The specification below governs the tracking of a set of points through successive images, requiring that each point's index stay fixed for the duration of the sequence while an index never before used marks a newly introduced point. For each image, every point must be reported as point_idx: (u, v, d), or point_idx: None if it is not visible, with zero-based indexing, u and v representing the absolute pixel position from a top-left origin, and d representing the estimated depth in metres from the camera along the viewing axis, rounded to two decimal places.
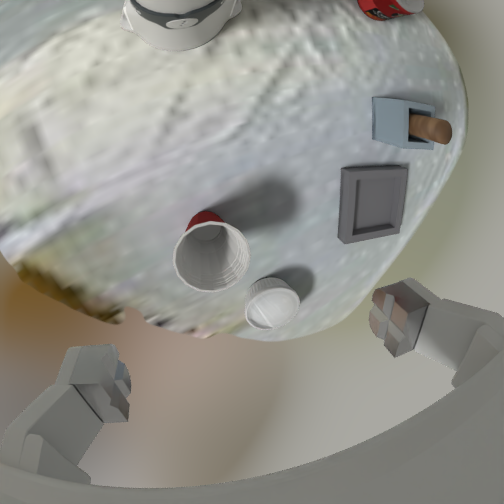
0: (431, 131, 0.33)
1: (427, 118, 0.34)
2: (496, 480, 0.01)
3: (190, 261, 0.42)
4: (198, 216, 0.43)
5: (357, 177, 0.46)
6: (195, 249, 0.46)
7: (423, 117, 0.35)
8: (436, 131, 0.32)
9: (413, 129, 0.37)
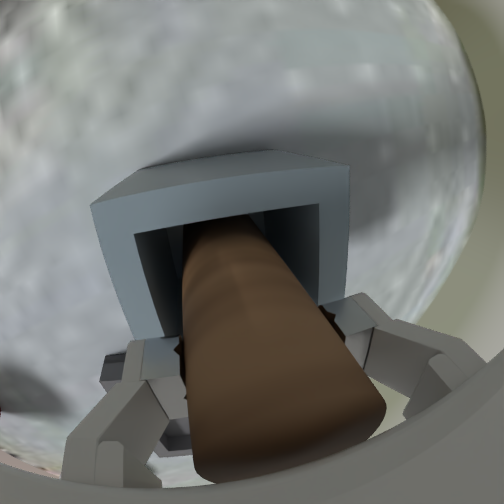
0: None
1: (208, 310, 0.06)
2: (496, 480, 0.01)
3: None
4: None
5: None
6: None
7: (207, 286, 0.07)
8: (198, 466, 0.04)
9: None
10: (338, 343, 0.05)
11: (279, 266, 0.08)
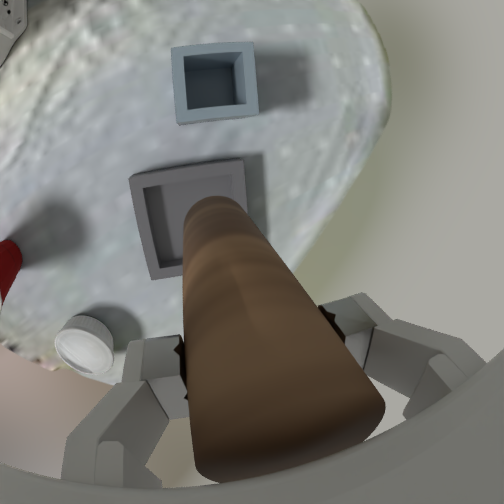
0: None
1: (208, 310, 0.06)
2: (496, 480, 0.01)
3: None
4: None
5: (143, 184, 0.32)
6: None
7: (207, 287, 0.07)
8: None
9: None
10: (337, 342, 0.05)
11: (279, 266, 0.08)
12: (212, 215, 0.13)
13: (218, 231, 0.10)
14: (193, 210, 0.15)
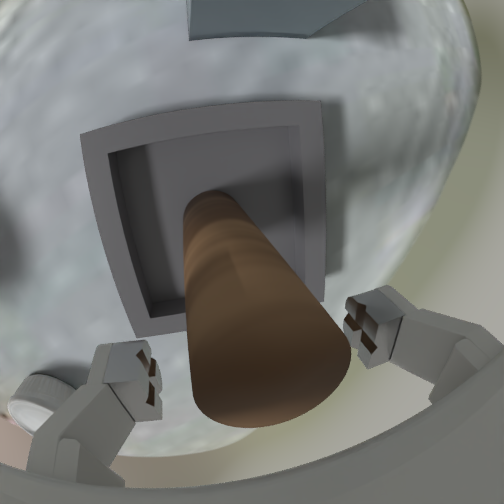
0: None
1: (206, 272, 0.08)
2: (496, 480, 0.01)
3: None
4: None
5: (109, 145, 0.13)
6: None
7: (205, 256, 0.09)
8: (195, 397, 0.06)
9: None
10: (308, 292, 0.07)
11: (264, 242, 0.10)
12: (209, 205, 0.14)
13: (214, 217, 0.12)
14: (192, 203, 0.17)
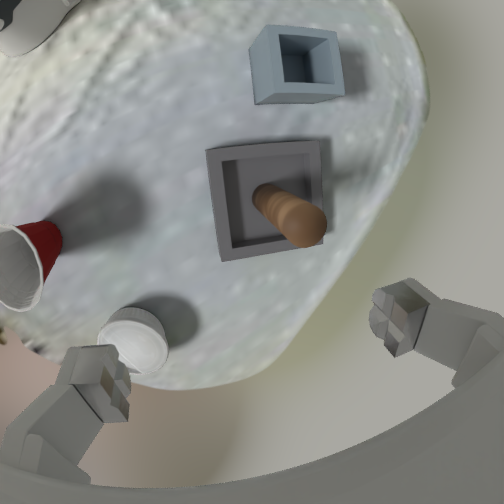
0: (280, 227, 0.26)
1: (282, 202, 0.27)
2: (496, 480, 0.01)
3: (14, 275, 0.26)
4: None
5: (222, 157, 0.32)
6: (31, 264, 0.30)
7: (280, 199, 0.27)
8: (284, 230, 0.24)
9: (269, 220, 0.30)
10: None
11: None
12: (271, 188, 0.33)
13: (277, 191, 0.31)
14: (258, 188, 0.35)
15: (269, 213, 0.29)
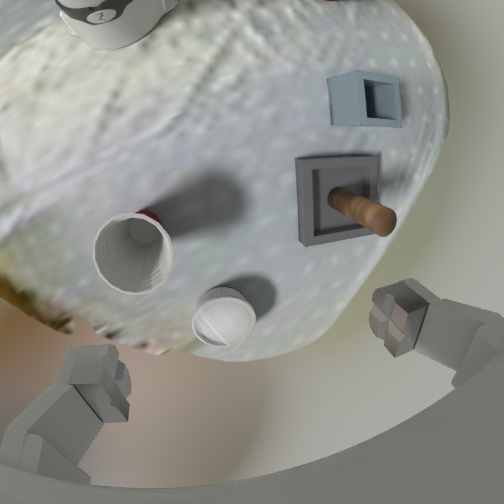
0: (368, 222, 0.35)
1: (367, 205, 0.36)
2: (496, 480, 0.01)
3: (119, 262, 0.36)
4: None
5: (313, 166, 0.41)
6: (130, 251, 0.40)
7: (363, 203, 0.37)
8: (373, 225, 0.34)
9: (352, 216, 0.40)
10: None
11: None
12: (347, 192, 0.42)
13: (355, 195, 0.40)
14: (334, 191, 0.45)
15: (354, 212, 0.39)
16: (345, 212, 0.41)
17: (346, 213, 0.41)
